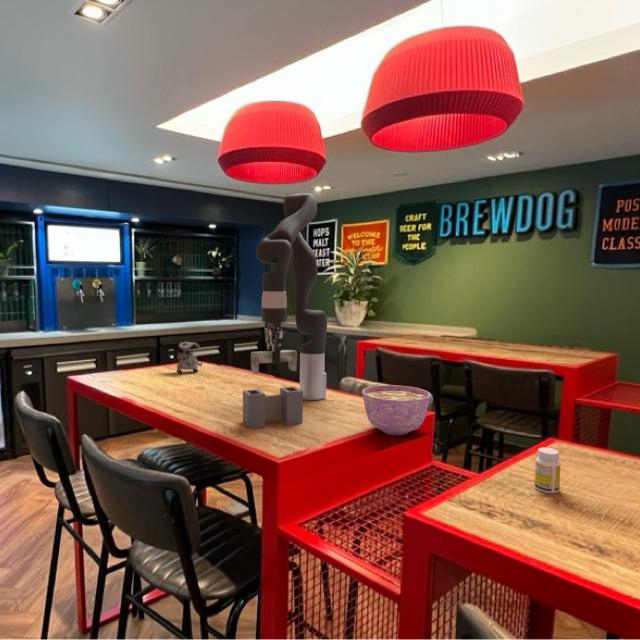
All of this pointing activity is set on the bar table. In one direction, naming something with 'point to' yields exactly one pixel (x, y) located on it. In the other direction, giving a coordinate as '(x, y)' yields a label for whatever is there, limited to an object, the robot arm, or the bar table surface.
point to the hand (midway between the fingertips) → (274, 362)
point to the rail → (268, 357)
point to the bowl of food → (395, 407)
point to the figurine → (188, 357)
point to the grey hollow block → (272, 407)
